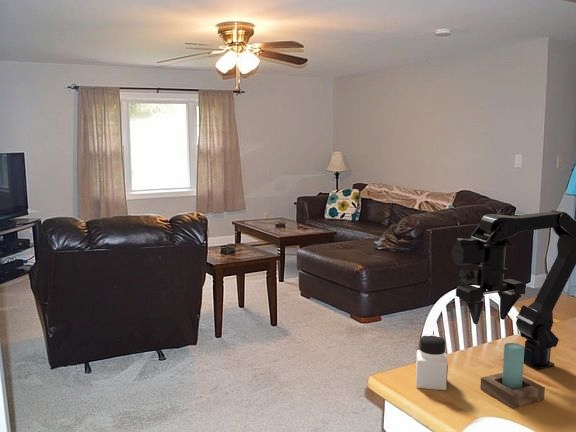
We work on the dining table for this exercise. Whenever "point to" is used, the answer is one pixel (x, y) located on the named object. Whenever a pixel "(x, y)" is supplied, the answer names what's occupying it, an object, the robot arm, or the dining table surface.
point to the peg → (513, 366)
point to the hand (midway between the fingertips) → (488, 321)
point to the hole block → (512, 391)
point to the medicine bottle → (431, 363)
